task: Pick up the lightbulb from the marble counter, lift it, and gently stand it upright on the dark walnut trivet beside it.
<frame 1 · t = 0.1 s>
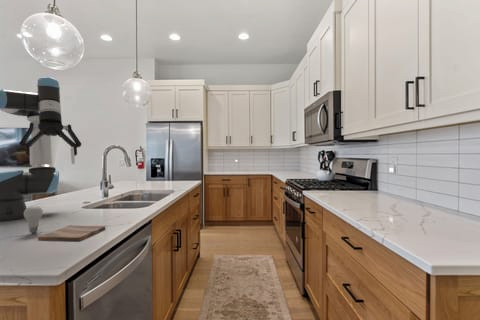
hand: (53, 163, 107), 28 cm above the countertop, tool tilted 20°, fingers open, 13 cm apart
walnut trivet: (73, 234, 108), on the countertop
lightbulb: (33, 233, 109), on the countertop
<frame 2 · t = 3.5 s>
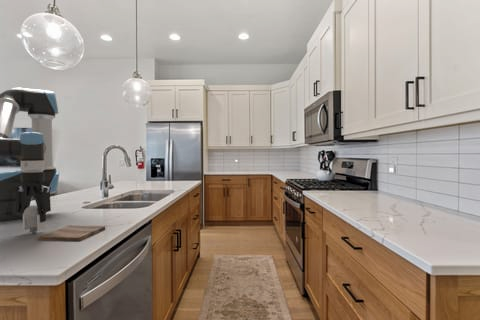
hand: (33, 229, 109), 1 cm above the countertop, tool pointing down, fingers closed on lightbulb, 5 cm apart
lightbulb: (33, 233, 109), on the countertop, touching gripper
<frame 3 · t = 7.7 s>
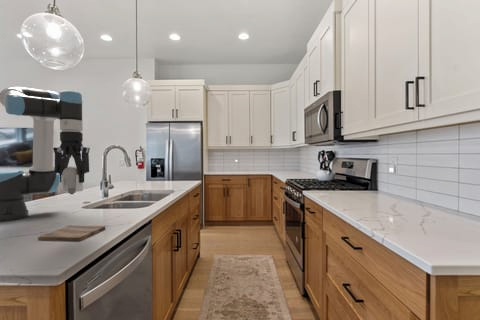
hand: (72, 191, 107), 17 cm above the countertop, tool pointing down, fingers closed on lightbulb, 5 cm apart
lightbulb: (72, 194, 107), point 15 cm above the countertop, touching gripper
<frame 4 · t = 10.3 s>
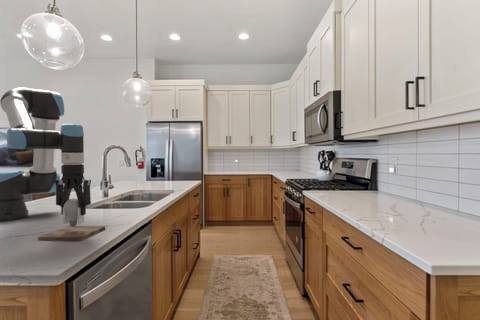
hand: (73, 223, 107), 4 cm above the countertop, tool pointing down, fingers closed on lightbulb, 5 cm apart
lightbulb: (73, 227, 107), point 3 cm above the countertop, touching gripper
when the fingers open (3 cm above the countertop, at t = 12.0 s): lightbulb stays where it is, resting on walnut trivet.
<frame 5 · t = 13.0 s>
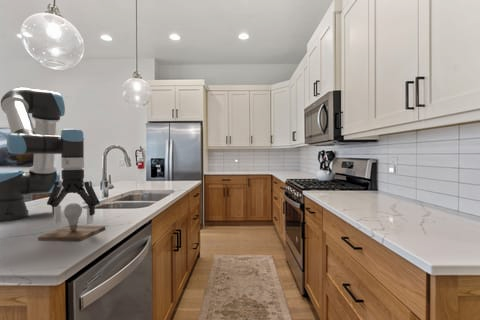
hand: (73, 223, 107), 4 cm above the countertop, tool pointing down, fingers open, 13 cm apart
lightbulb: (73, 231, 107), point 1 cm above the countertop, touching walnut trivet
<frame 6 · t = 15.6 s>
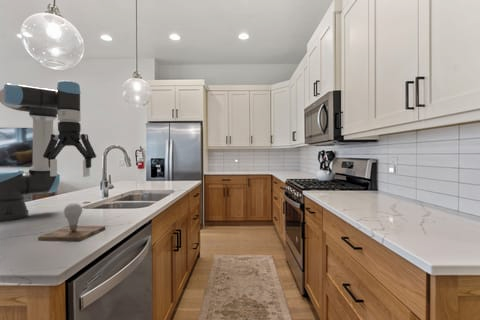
hand: (70, 176, 108), 23 cm above the countertop, tool pointing down, fingers open, 13 cm apart
nothing on the countertop moved.
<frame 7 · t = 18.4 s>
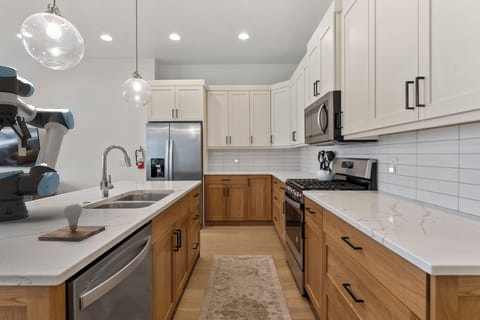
hand: (7, 156, 114), 31 cm above the countertop, tool pointing down, fingers open, 13 cm apart
nothing on the countertop moved.
at the end: lightbulb inside the target area on the walnut trivet (0.1 cm from its centre), point 1.0 cm above the walnut trivet's base; lightbulb tilted 0°; the gripper is holding nothing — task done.
